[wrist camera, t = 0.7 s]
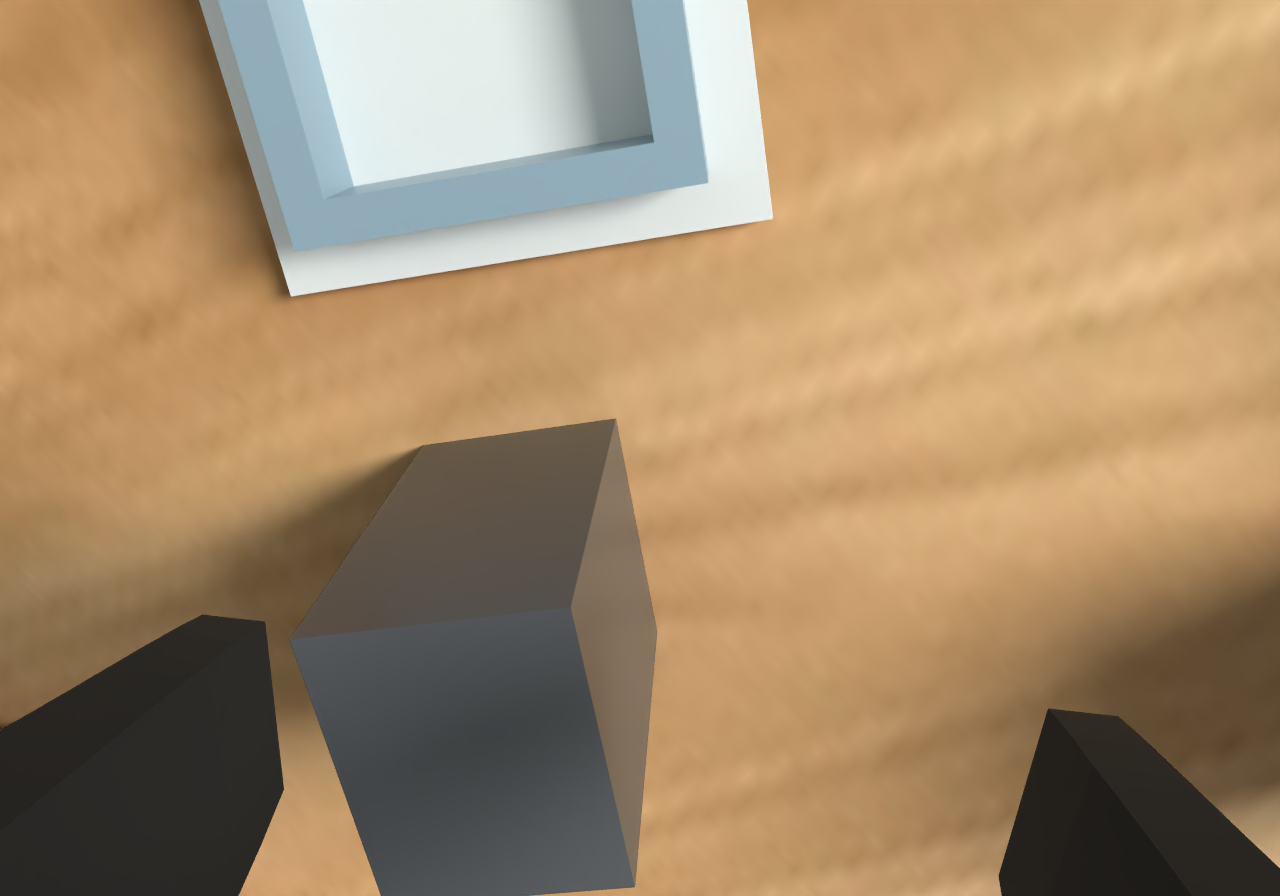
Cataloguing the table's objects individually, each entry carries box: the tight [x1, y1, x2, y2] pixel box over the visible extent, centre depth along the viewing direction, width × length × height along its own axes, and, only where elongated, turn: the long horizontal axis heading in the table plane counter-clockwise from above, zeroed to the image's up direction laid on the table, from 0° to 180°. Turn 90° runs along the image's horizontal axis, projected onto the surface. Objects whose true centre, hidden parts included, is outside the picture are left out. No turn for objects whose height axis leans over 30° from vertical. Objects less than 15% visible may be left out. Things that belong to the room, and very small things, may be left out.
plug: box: [289, 419, 657, 896], centre depth 18 cm, size 4×5×7 cm
